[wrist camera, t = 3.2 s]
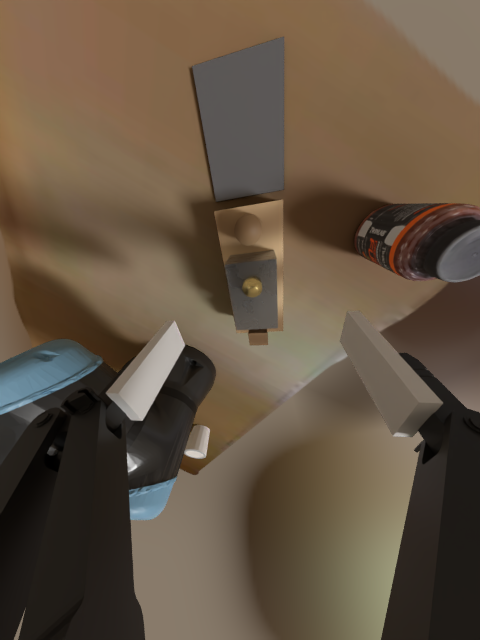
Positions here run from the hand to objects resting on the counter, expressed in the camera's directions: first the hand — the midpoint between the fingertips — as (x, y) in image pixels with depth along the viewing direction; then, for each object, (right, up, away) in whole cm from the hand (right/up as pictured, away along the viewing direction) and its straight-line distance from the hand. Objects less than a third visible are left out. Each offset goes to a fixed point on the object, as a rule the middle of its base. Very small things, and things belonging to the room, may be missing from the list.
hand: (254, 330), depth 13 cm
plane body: (+1, +8, +12) cm, 14 cm away
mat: (-1, +20, +4) cm, 20 cm away
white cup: (-14, -35, +43) cm, 57 cm away
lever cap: (+1, +5, +8) cm, 10 cm away
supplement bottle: (+16, +12, +8) cm, 21 cm away
